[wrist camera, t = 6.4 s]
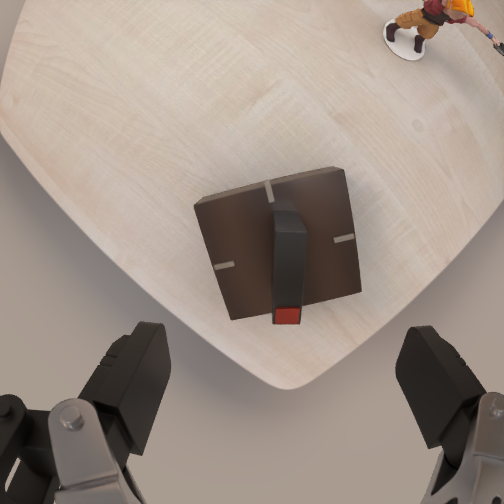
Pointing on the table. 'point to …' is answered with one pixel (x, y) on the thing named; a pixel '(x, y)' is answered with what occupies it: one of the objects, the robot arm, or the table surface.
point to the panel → (260, 238)
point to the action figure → (429, 26)
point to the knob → (287, 267)
